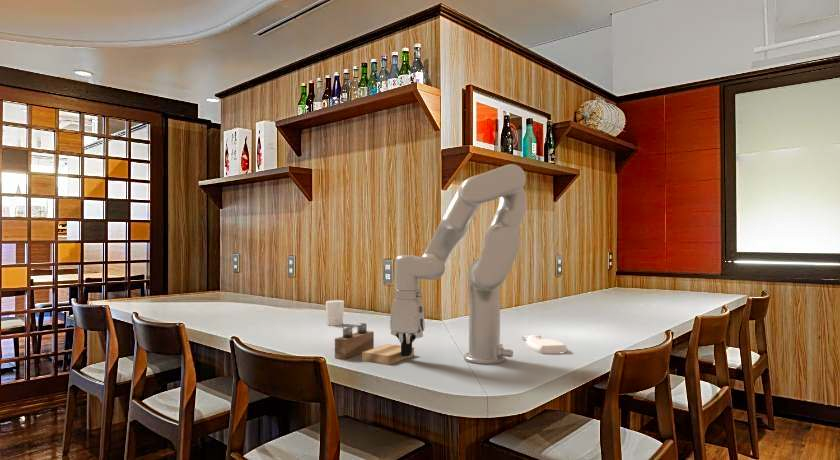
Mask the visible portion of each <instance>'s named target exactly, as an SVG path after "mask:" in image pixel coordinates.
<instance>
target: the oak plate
mask: <svg viewBox="0 0 840 460" xmlns="http://www.w3.org/2000/svg"><path fill="white" fill-rule="evenodd" d="M414 356H415V347H413V346H412V353H411V355H410V356H407V357H405V356H402V352H401V345H397V344H391V343H390V344H389V343H388V344H384V345H380V346H378V347H374V349H371V350H367V351H364V352H362V354H361V361H362V360H363V362H370V363H375V364H376V363H377V364H383V365H388V366H389V365H392V364H394V363H397V362H400V361H404V360H405V359H408V358H412V357H414Z"/></svg>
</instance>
